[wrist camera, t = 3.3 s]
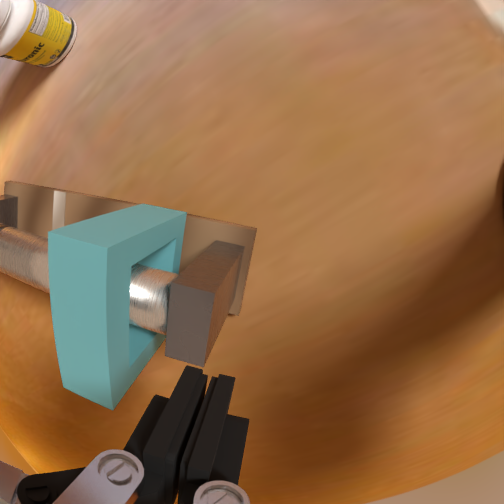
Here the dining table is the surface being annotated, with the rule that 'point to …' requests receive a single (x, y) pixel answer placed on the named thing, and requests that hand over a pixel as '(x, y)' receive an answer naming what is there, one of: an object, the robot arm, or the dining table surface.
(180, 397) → the robot arm
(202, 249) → the base board
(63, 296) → the teal rectangular frame
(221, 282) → the rail
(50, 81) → the dining table surface
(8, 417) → the dining table surface
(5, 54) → the supplement bottle
